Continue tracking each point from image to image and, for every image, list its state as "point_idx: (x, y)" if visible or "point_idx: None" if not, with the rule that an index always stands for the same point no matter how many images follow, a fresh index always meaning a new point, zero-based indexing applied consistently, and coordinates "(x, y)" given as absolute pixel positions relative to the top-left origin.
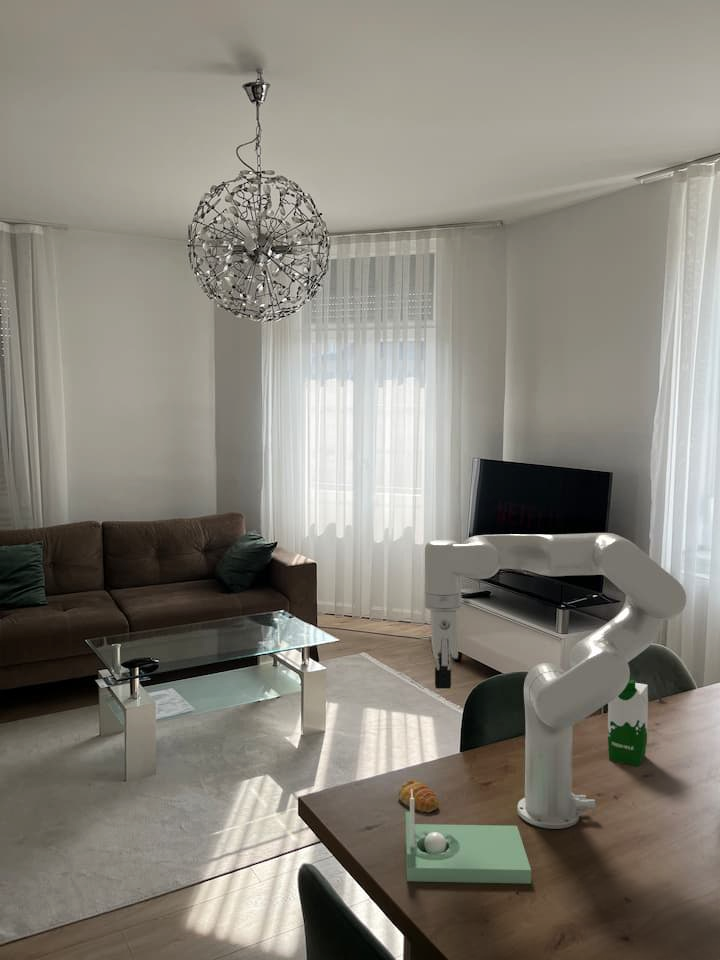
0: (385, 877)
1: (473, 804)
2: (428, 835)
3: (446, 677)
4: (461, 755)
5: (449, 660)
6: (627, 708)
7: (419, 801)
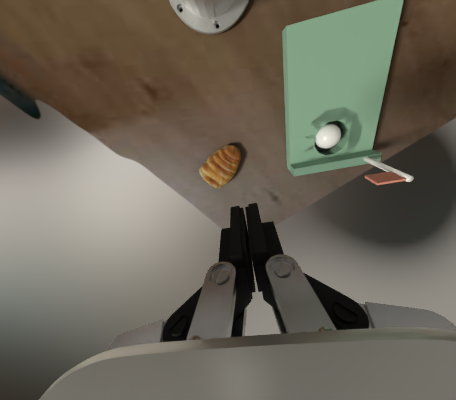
0: (353, 172)
1: (209, 104)
2: (331, 145)
3: (278, 241)
4: (92, 134)
5: (328, 317)
6: None
7: (237, 165)
